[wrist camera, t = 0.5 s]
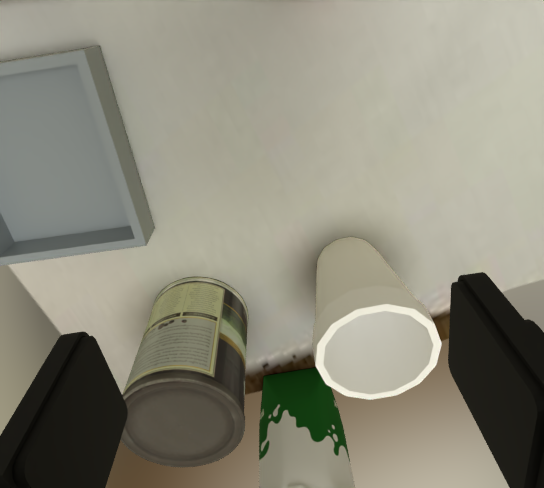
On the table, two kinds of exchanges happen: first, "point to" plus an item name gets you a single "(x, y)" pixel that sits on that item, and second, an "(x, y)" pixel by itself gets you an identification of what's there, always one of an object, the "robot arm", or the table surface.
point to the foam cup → (369, 324)
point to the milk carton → (301, 434)
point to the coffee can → (189, 376)
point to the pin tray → (65, 161)
